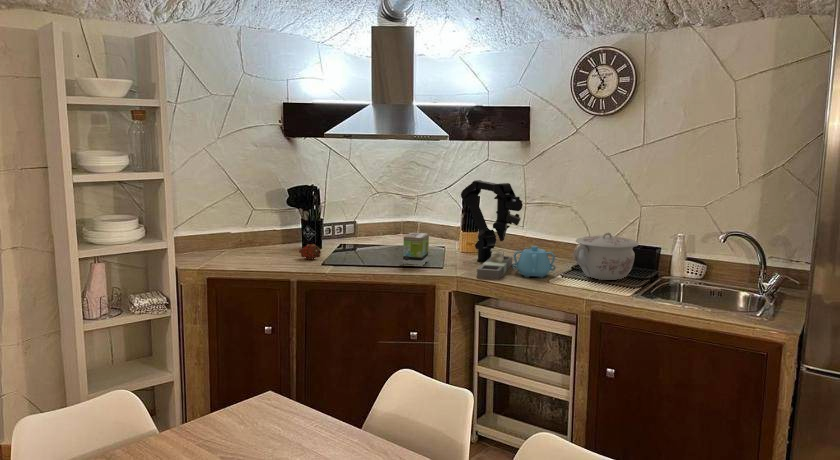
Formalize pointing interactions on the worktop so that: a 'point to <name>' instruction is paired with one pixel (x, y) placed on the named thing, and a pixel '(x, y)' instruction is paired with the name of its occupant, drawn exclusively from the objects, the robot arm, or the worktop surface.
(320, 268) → the worktop surface
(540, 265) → the decorative pot
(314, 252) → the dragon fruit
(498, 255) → the cream block
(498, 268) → the trap deck
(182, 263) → the worktop surface
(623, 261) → the chamber pot
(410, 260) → the tea box
